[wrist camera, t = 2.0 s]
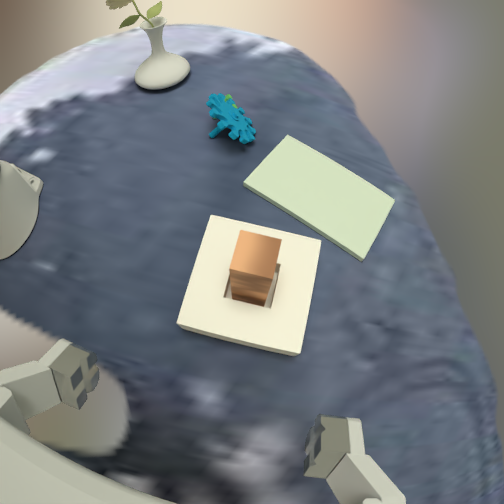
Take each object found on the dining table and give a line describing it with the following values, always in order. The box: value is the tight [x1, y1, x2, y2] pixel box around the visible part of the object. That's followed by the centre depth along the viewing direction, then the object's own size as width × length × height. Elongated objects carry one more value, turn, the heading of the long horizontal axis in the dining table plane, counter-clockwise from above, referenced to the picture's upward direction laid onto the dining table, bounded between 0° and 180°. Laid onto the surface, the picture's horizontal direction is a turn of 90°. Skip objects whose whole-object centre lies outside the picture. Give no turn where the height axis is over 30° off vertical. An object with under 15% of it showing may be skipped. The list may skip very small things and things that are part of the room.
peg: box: [229, 230, 282, 307], centre depth 35 cm, size 4×4×11 cm
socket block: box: [177, 215, 321, 356], centre depth 39 cm, size 14×14×4 cm
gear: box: [206, 93, 256, 144], centre depth 49 cm, size 11×6×10 cm
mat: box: [243, 135, 395, 262], centre depth 46 cm, size 20×12×1 cm, turn 55°
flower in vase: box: [106, 0, 190, 89], centre depth 45 cm, size 13×11×25 cm
